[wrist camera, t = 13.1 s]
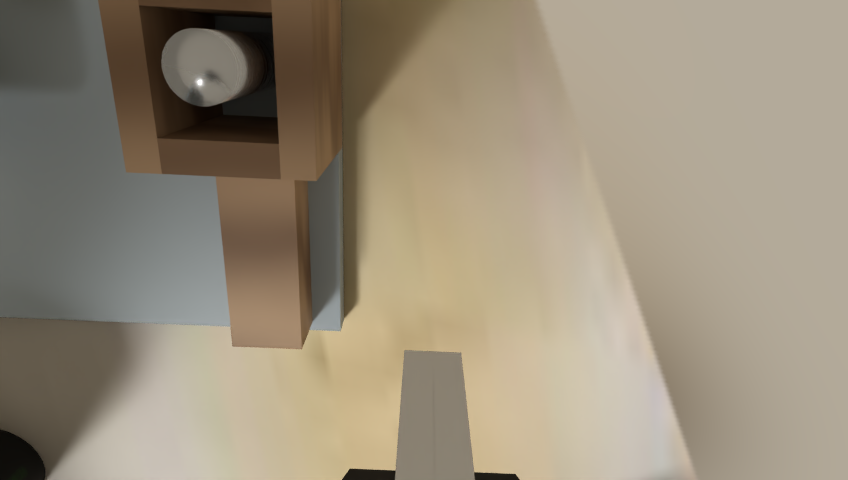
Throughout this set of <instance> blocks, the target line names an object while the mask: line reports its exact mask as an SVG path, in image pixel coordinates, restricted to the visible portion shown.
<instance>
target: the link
mask: <svg viewBox="0 0 848 480" xmlns="http://www.w3.org/2000/svg"><path fill="white" fill-rule="evenodd" d="M98 3H99V9H100V15H101V22H102V28H103V34H104V40H105V46H106V52H107V58H108V65H109V71H110V77H111V83H112V89H113V95H114V101H115V108H116V114H117V120H118V126H119V132H120V138H121V144H122V151H123V157H124V163H125V169H126V172H128V173H150V174H172V175H194V176H215V177H216V185H217V195H218V205H219V216H220V226H221V236H222V246H223V256H224V266H225V276H226V286H227V296H228V306H229V316H230V326H231V336H232V346H235V347H261V348H286V349H302V347H303V345H304V342H305V340H306V337H307V335H308V332H309V330H310V327H311V325H312V322H313V321H312V292H311V263H310V234H309V204H308V181H317V180H318V178H319V177H320V176H321V174H322V173H323V172H324V171H325V169H326V168H327V167H328V165H329V164H330V163H331V162H332V160H333V159H334V158H335V156H336V155H337V154H338V152H339V151H340V150H341V149H342V66H341V0H98ZM214 15H216V16H235V17H255V18H272V23H273V41H274V60H275V79H276V98H277V116H278V117H259V116H239V115H223V107H222V103H220V104H217V105H213V106H204V107H203V106H197V105H193V104H190V103H188V102H186V101H184V100H183V99H181V98H180V97H179V96H177V95H176V94H175V93H174V92H173V91H172V89H171V88H170V87H169V85H168V83H167V82H166V79H165V77H164V74H163V70H162V63H161V60H162V52H163V49H164V46H165V45H166V43H167V41H168V40H169V39H170V38H171V37H172V36H173V35H174V34H175V33H177V32H179V31H181V30H184V29H189V28H200V29H215V19H214Z"/></svg>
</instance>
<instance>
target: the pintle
mask: <svg viewBox="0 0 848 480" xmlns="http://www.w3.org/2000/svg"><path fill="white" fill-rule="evenodd" d="M161 63H162V70H163V74H164V77H165V79H166V82H167V83H168V85H169V87H170V88H171V89H172V91H173V92H174V93H175V94H176V95H177V96H179V97H180V98H181V99H183V100H184V101H186V102H188V103H190V104H193V105H197V106H203V107H204V106H213V105H217V104H220V103H223V102H227V101H230V100H233V99H237V98H240V97H244V96H247V95H250V94H254V93H257V92H260V91H264V90H267V89H271V88H274V87H276V79H275V60H274V41H273V34H269V33H260V32H245V31H230V30H215V29H200V28H189V29H184V30H181V31H179V32H177V33H175V34H174V35H173V36H172V37H171V38H170V39H169V40H168V41H167V43H166V45H165V46H164V49H163V52H162V60H161Z"/></svg>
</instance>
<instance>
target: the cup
mask: <svg viewBox="0 0 848 480" xmlns="http://www.w3.org/2000/svg"><path fill="white" fill-rule="evenodd" d="M44 479H45V468H44V465H43V461H42V460H41V458H40V456H39V455H38V453H37V452H36V451H35V450H34V449H33V448H32V447H31V446H30V445H29V444H28V443H26V442H25V441H24V440H22V439H21V438H19V437H17V436H15V435H13V434H11V433H9V432H5V431H2V430H0V480H44Z"/></svg>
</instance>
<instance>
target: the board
mask: <svg viewBox="0 0 848 480" xmlns="http://www.w3.org/2000/svg"><path fill="white" fill-rule="evenodd" d="M214 19H215V30H230V31H245V32H260V33H269V34H273V23H272V18H255V17H235V16H216V15H214ZM341 66H342V28H341ZM222 107H223V115H239V116H259V117H278V116H277V98H276V87H274V88H271V89H267V90H264V91H260V92H257V93H254V94H250V95H247V96H244V97H240V98H237V99H233V100H230V101H227V102H223V103H222ZM308 204H309V234H310V263H311V292H312V321H313V322H312V325H311V327H310V330H327V331H341V328H342V324H343V321H344V265H343V146H342V149H341V150H340V151H339V152H338V154H337V155H336V156H335V158H334V159H333V160H332V162H331V163H330V164H329V165H328V167H327V168H326V169H325V171H324V172H323V173H322V174H321V176H320V177H319V178H318V180H317V181H308ZM0 317H9V318H33V319H58V320H82V321H107V322H131V323H156V324H180V325H205V326H229V327H231V326H230V316H229V306H228V296H227V286H226V276H225V266H224V256H223V246H222V236H221V226H220V216H219V205H218V195H217V185H216V177H215V176H194V175H172V174H150V173H128V172H126V169H125V163H124V157H123V151H122V144H121V138H120V132H119V126H118V120H117V114H116V108H115V101H114V95H113V89H112V83H111V77H110V71H109V65H108V58H107V52H106V46H105V40H104V34H103V28H102V22H101V15H100V9H99V3H98V0H0Z"/></svg>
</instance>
